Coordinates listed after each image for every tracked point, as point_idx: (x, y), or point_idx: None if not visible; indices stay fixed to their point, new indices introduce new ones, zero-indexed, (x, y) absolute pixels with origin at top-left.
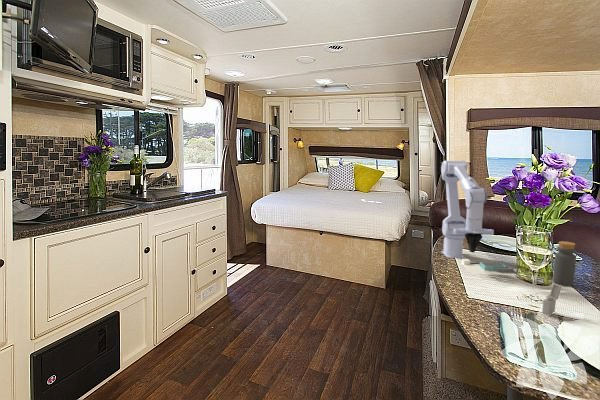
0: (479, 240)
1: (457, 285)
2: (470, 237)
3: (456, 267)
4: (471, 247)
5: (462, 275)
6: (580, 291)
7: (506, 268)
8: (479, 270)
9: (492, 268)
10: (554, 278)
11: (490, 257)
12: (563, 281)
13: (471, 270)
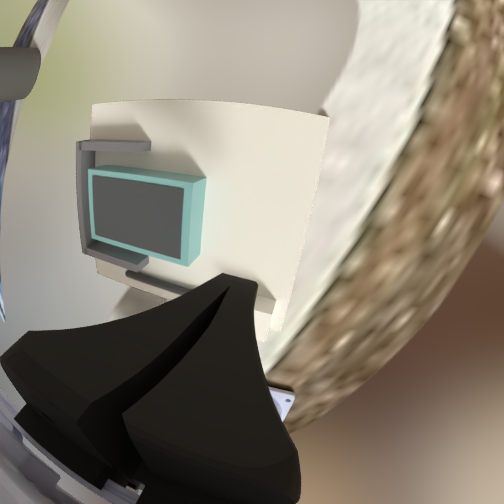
0: (86, 331)
1: (481, 22)
2: (266, 463)
3: (344, 276)
4: (250, 309)
5: (398, 131)
6: (36, 20)
7: (96, 150)
8: (241, 178)
9: (156, 173)
10: (27, 67)
11: None
12: (26, 47)
13: (298, 183)
